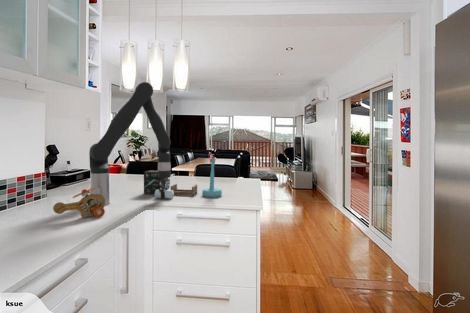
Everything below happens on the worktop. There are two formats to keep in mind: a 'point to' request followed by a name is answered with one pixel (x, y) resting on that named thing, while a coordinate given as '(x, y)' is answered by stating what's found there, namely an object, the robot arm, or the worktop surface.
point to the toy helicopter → (84, 205)
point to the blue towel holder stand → (212, 185)
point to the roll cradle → (184, 191)
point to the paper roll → (168, 194)
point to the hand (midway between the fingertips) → (164, 197)
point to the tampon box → (151, 182)
